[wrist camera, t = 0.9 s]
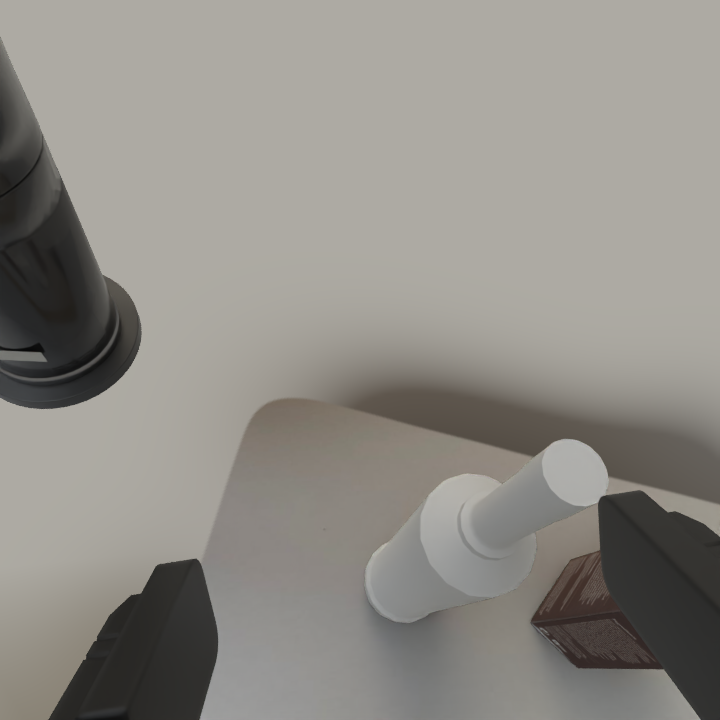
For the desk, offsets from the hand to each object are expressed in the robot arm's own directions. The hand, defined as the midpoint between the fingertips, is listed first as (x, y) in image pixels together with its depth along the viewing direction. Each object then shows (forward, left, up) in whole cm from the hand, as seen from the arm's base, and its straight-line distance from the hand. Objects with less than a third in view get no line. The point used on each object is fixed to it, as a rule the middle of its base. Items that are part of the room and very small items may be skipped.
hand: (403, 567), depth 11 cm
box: (+12, +14, -29) cm, 34 cm away
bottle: (+2, +6, -29) cm, 29 cm away
